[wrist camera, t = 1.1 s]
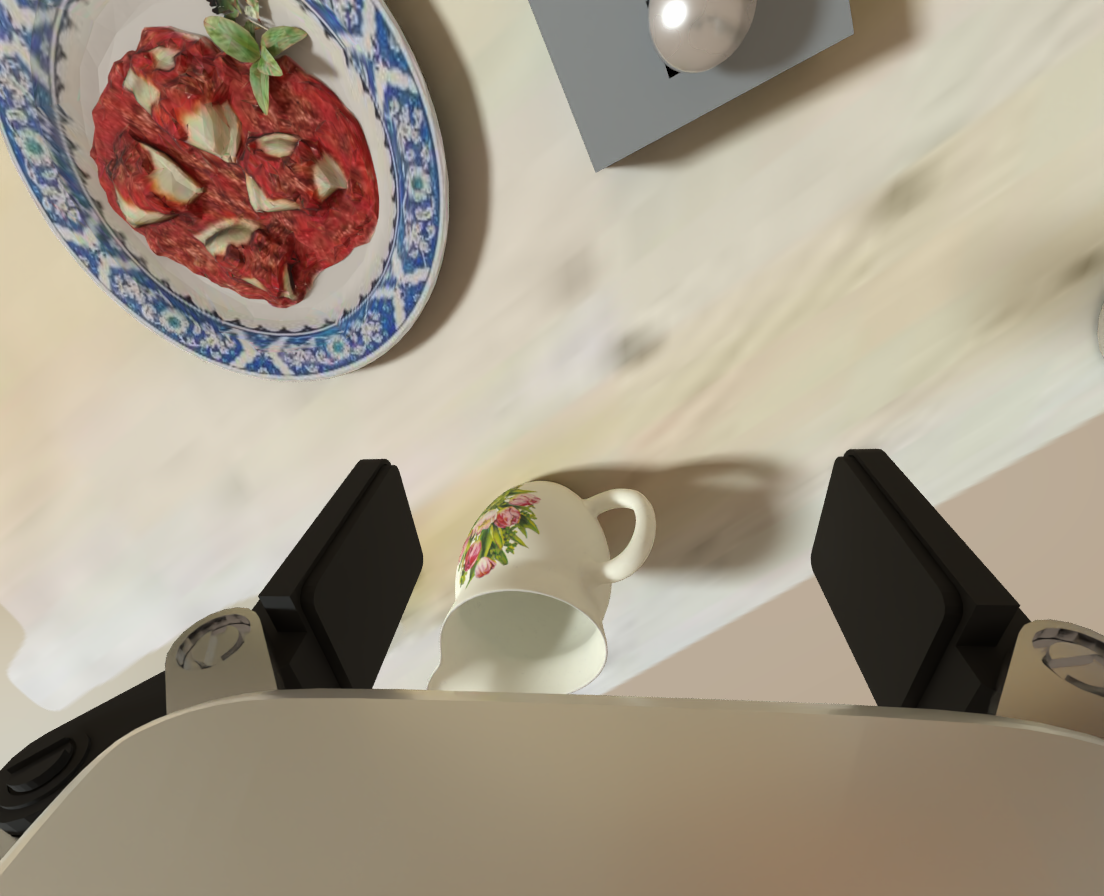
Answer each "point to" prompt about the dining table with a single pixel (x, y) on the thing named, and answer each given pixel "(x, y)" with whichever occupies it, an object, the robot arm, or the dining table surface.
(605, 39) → the housing
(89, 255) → the ceramic plate
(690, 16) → the plunger
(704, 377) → the dining table surface
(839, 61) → the dining table surface
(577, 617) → the pitcher
